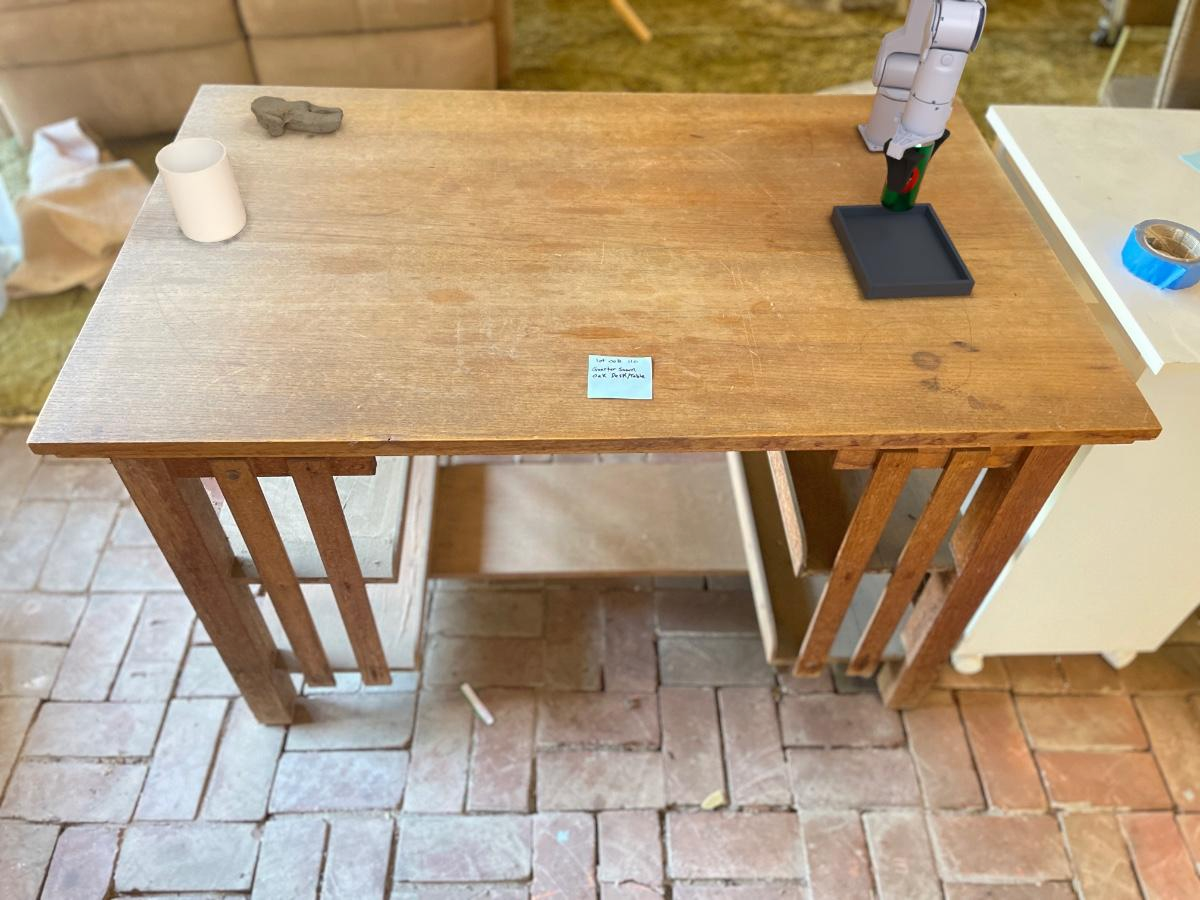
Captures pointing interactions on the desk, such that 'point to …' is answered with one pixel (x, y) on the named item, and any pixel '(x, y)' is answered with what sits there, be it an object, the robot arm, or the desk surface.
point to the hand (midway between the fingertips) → (903, 182)
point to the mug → (202, 189)
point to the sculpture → (295, 116)
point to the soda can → (908, 184)
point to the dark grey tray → (900, 252)
